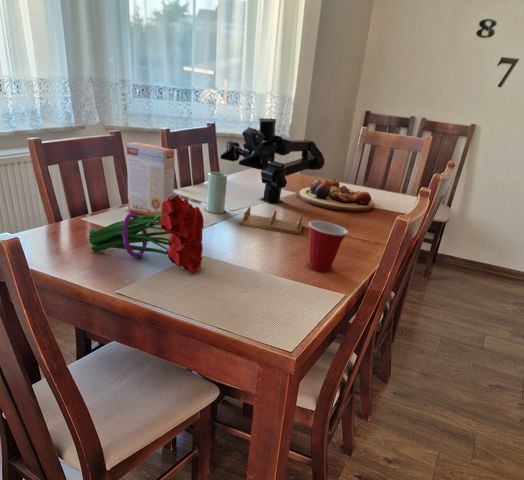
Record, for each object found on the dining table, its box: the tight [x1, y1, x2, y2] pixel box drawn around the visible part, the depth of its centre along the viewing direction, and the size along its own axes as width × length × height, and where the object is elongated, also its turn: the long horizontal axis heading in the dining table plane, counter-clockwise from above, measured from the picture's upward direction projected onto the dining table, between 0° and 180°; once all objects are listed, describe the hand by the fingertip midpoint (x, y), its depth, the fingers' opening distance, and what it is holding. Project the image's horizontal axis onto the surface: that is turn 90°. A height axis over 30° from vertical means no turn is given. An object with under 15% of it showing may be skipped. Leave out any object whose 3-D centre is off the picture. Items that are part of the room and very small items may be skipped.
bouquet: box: [88, 194, 205, 275], centre depth 120 cm, size 20×16×30 cm
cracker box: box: [126, 141, 176, 216], centre depth 151 cm, size 14×6×21 cm, turn 65°
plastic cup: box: [308, 220, 349, 273], centre depth 131 cm, size 11×11×12 cm
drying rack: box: [240, 206, 304, 235], centre depth 162 cm, size 10×20×4 cm, turn 82°
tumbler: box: [206, 171, 228, 214], centre depth 166 cm, size 6×6×12 cm
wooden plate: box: [298, 178, 375, 213], centre depth 201 cm, size 32×32×8 cm
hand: (229, 160), depth 166 cm, fingers open, 9 cm apart
